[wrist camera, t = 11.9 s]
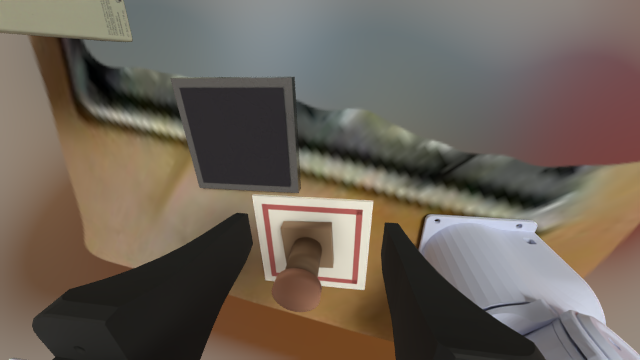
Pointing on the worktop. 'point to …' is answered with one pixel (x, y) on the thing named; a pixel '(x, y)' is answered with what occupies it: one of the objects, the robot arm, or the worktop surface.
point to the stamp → (303, 264)
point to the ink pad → (241, 131)
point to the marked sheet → (343, 213)
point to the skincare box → (66, 19)
